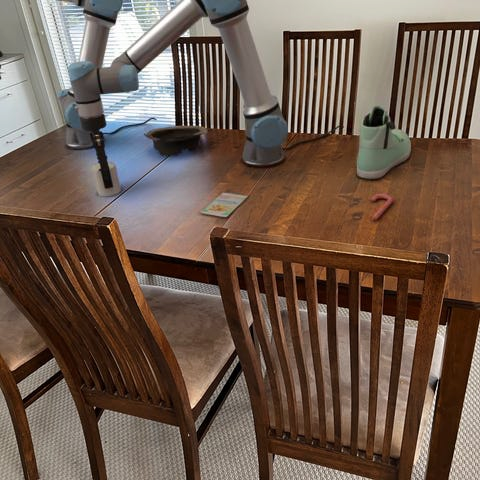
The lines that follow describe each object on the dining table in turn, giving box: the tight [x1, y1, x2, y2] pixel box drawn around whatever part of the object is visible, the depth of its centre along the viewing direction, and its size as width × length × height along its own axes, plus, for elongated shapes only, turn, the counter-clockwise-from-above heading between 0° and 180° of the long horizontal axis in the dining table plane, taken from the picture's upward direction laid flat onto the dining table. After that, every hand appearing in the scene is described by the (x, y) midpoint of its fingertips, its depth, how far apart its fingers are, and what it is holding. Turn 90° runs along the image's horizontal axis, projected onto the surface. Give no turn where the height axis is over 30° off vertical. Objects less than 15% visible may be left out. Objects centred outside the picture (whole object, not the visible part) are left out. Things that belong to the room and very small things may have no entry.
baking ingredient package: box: [199, 191, 249, 218], centre depth 146 cm, size 9×1×15 cm
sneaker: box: [356, 105, 412, 180], centre depth 161 cm, size 14×35×20 cm, turn 152°
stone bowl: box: [143, 125, 208, 157], centre depth 189 cm, size 25×25×9 cm
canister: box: [91, 161, 122, 197], centre depth 158 cm, size 8×8×9 cm
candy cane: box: [371, 193, 394, 221], centre depth 137 cm, size 6×15×2 cm, turn 145°
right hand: (107, 182), depth 159 cm, fingers closed on canister, 7 cm apart
